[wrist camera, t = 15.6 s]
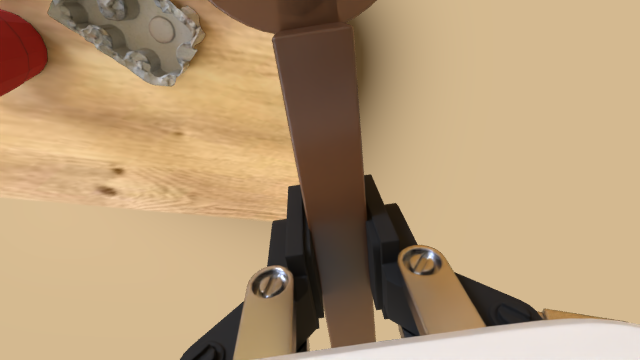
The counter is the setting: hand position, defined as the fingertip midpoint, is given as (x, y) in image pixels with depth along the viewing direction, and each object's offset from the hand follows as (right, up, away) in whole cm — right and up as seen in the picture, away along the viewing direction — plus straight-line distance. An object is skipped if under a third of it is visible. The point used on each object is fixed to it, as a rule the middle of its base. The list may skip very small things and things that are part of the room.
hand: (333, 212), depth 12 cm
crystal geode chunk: (-17, +16, +16) cm, 29 cm away
